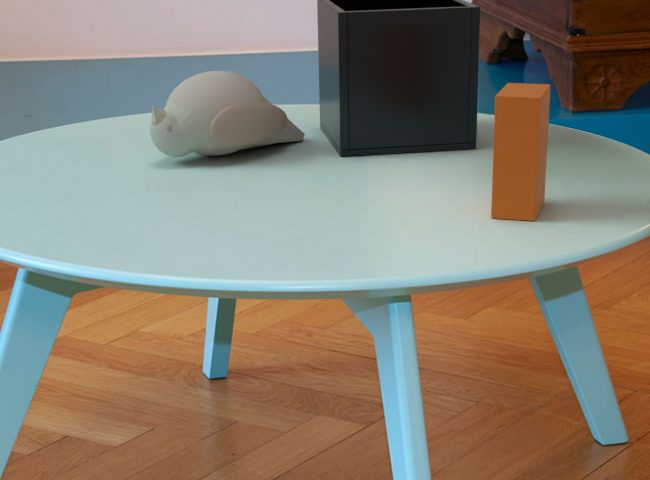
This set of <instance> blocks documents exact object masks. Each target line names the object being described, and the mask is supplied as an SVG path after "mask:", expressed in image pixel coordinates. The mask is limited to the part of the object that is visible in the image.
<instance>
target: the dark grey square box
mask: <svg viewBox="0 0 650 480" xmlns="http://www.w3.org/2000/svg"><path fill="white" fill-rule="evenodd" d="M316 9H317V13H316V14H317V48H318V49H317V50H318V51H317V52H318V55H317V56H318V57H317V58H318V94H319V95H318V96H319V128H320V129H321V131H322V132H323V134H324V135H325V136H326V137H327V140H329V142H330V143H331V145H332V147H333V148H334V149H335V151H336V152H337V153H338V155H339V156H340V157H342V158H343V157H359V156H361V157H362V156H375V155H376V156H377V155H378V156H379V155H390V154H391V155H393V154H396V155H397V154H410V153H411V154H412V153H428V152H446V151H463V150H476V149H477V139H478V138H477V137H478V136H477V135H478V133H477V132H478V105H479V104H478V103H479V102H478V99H479V70H480V69H479V68H480V67H479V65H480V35H481V33H480V29H481V6H478V5H476V4H474V3H472V2H469V1H466V0H316Z"/></svg>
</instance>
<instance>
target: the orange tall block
mask: <svg viewBox="0 0 650 480" xmlns="http://www.w3.org/2000/svg"><path fill="white" fill-rule="evenodd" d="M550 102H551V83H550V84H549V83H523V82H522V83H521V82H507V83H506V84H505V85H504V86H503V87H502V89H500V90H499V92H498V93H497V94H496V95H495V96H494V120H493V121H494V122H493V148H492V149H493V150H492V151H493V153H492V155H493V156H492V175H491V177H492V178H491V181H492V183H491V185H492V186H491V209H490V210H491V211H490V218H491V219H499V220H511V221H513V220H514V221H526V222H528V221H529V222H536V221H535V220H536V219H537V217H538V215H539V213H540V212H541V209H542V207H543V205H544V203H545V199H546V198H545V196H546V179H547V178H546V176H547V160H548V159H547V158H548V142H549V141H548V140H549V124H550V123H549V119H550V106H551V105H550V104H551V103H550Z"/></svg>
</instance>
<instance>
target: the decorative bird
mask: <svg viewBox="0 0 650 480" xmlns="http://www.w3.org/2000/svg"><path fill="white" fill-rule="evenodd" d="M149 135H150V139H151V141H152V143H153V145H154V146H155V148H156V149H157V150H158V151H159V152H161V153H162V154H163V155H166V156H168V157H172V158H182V157H185V156H187V155H188V154H191V153H195V154H199V155H202V156H209V157H210V156H212V157H213V156H225V155H229V154H232V153H235V152H238V151H241V150H247V149H252V148H253V149H254V148H258V147H263V146H269V145H270V146H271V145H275V144H281V143H293V142H302V141H304V138H305V135H306V134H305V133H304V132H303V131H302V130H301V129H300V128H299V127H298V126H297V125H296V124H295V123H293V122H292V121H291V119H289V118H288V115H287V113H286V112H285V111H284V110H283V109H282V108H281V107H279V106H277V105H275V104H273V103H272V102H271V101H269V100H268V99H267V98H266V97H265V96H264V95H263V93H262V91H261V90H260V88H258V86H257V85H255V83H253V82H252V81H251V80H249V79H248V78H247V77H244V76H242V75H240V74H238V73H235V72H231V71H227V70H209V71H203V72H200V73H197V74H194V75H192V76H189V77H188V78H186V79H185V80H183V81H182V82H180V83H179V84H178V85H177V86H176V87H175V88H174V89H173V90H172V92H171V93H170V95H169V97H168V98H167V101H166V103H165V106H164V107H163V109H162V108H159V107H158V106H155V105H151V122H150V125H149Z"/></svg>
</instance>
